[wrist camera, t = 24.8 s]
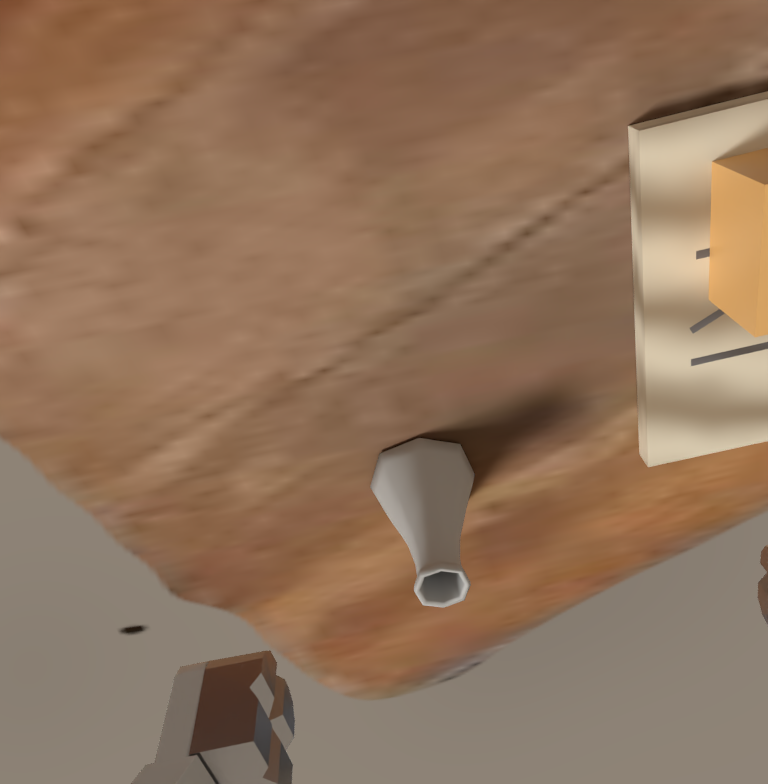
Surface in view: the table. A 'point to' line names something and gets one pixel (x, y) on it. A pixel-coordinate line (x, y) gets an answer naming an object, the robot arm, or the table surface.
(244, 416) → the table surface
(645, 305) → the birch board
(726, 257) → the block
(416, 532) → the flask
